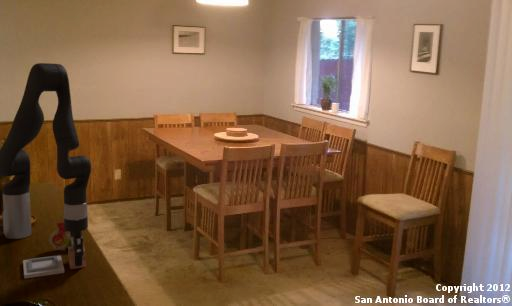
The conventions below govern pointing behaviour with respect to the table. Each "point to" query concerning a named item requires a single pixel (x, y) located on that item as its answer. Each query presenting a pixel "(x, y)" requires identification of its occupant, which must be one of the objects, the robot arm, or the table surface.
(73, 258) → the terracotta block
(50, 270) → the socket plate
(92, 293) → the table surface
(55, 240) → the bird rattle
